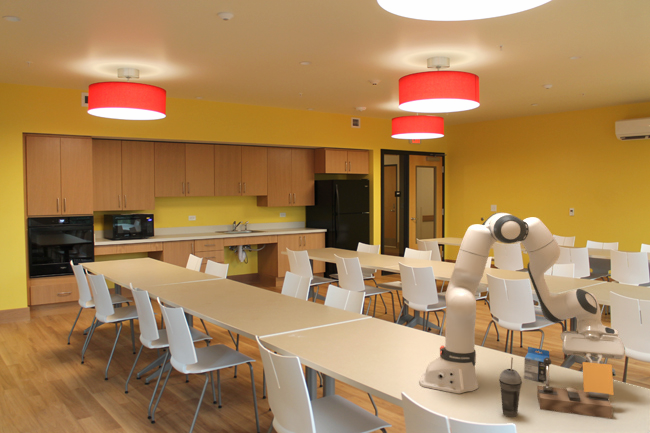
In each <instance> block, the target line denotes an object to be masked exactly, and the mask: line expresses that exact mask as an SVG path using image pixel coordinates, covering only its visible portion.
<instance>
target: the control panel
mask: <svg viewBox="0 0 650 433" xmlns="http://www.w3.org/2000/svg"><path fill="white" fill-rule="evenodd" d="M543 386H544V385H537V388H536V389H537V391H536V393H537V395H536V396H537V397H536V398H537V402H538V407H539V409H540V411H541V410H544V411H552V412H559V413H567V414H574V415H582V416H589V417H597V418H607V419H613V405H612V404H611V402H610V399H607V398H598V397H589V395H588V392H584V390H580V389H576V388H574V387H566V388H562V387H553V386H552V387H553V392H546V391H543Z"/></svg>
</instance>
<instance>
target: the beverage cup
mask: <svg viewBox="0 0 650 433" xmlns="http://www.w3.org/2000/svg"><path fill="white" fill-rule="evenodd" d="M510 358H511V359H510V368H506V369H503V370H502V371H501V373H500V375H499V379H498V381H499V387H500V398H501V409H502V415H503V416H504V417H505V418H506V417H507V418H510V419H512V418H513V419H515V418H517V417H518V411H519V402H520V393H521V392H520V391H521V388H522V384H523V382H522V377H521V375H520V374H519V372H518V371H517V370H515V369H513V361H514V357H512V356H511V357H510Z"/></svg>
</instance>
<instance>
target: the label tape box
mask: <svg viewBox="0 0 650 433" xmlns="http://www.w3.org/2000/svg"><path fill="white" fill-rule="evenodd" d="M550 357H551V356H550V350H546V349H541V348H537V347H531V346H527V352H526V354H525V356H524V360H523V361H524V364H523V365H524V366H523V378H524V379H527V380H532V381H535V382H540V383H543V384H546V365H545V364H544V359H545V358H549V359H550V360H551V358H550Z"/></svg>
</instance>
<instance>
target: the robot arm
mask: <svg viewBox="0 0 650 433" xmlns="http://www.w3.org/2000/svg"><path fill="white" fill-rule="evenodd" d="M496 242H500V243H503V244H514V243H519V242H520V244H522V245H523V247H524V249H525V251H526V253H527V254H528V258H529V259H528V260H529V262H528V263H527V266H526V267H527V273H528V276H529V278H530V282H531V284H532V288H533V289H534V292H535V294H536V297H537V299H538V302H539V306H540V310H541V313H542V314H543V317H544V318H545V319H546V320H547V321H550V322H551V323H554V324H558V323H561V322H564V321H565V320H569V319H573V318H576V320H577V321H576V331H575V330H564V331H562V332H561V333H560V339H561V341H562V346H561V348H562V349H561V350H562V353H563V354H564V355H571V356H578V357H579V356H580V357H585V360H586V362H589V363H600V364H601V361H602V359H614V360H623V359H624V358H625V356H626V350H625V346H624V343H623V341H622V338H620V337H619V331H618V330H617V329H615V328H612V327H609V326H606V325H603V322H602V310H601V307H600V303H599V300H598V298H597V296H596V295H595V294H593V293H592V292H589V291H586V290H584V289H582V288H576V289H573V290H569V291H566V292H563V293H560V294H556V295H553V294H552V293H551V292H550V290H549V288H548V284H547V282H546V279H545V276H544V275H545V273H546V272H548V270H550V269H551V268H552V267H553V266H554V265H555V264H556V263H557V261H558V260H559V258H560V255H561V248H560V246H559V244H558V242H557V240H556V239H555V237H554V235H553V234H552V232H551V230H550V229H549V228H548V227H547V226H546V225H545V223H543V221H542V220H541V219H540V218H538V217H535V216H534V217H532V216H531V217H530V216H529V217H527V218H524V219H521V218H519V217H517V216H515V215H513V214H511V213H508V212H494V213H493V214H491V215H490V216H489V217H488V218H487V219H486V220H485V221H484V222H483V223H482V224H480V223H479V224H478V223H477V224H471V225H470V226H469V227H467V230H466V231H465V234H464V236H463V238H462V241H461V244H460V247H459V250H458V254H457V257H456V260H455V263H454V266H453V270H452V273H451V276H450V279H449V282H448V284H447V287H446V291H445V295H444V296H445V298H444V299H445V332H444V333H445V335H444V336H445V342H444V343H445V345H440V346H439V356H438V357H437V358H436V359H434V360H432V361H431V362H429V363H428V365H427V366H426V369H425V373H423V374H422V375H420V377H419V385H420V386H421V387H423V388H428V389H434V390H439V391H442V392H443V391H444V392H448V393H453V394H458V395H459V394H463V393H467V392H472V391H475V390H478V389H479V382H478V379H477V373H476V362H477V354H476V348H475V343H476V342H475V339H476V338H475V336H476V335H475V334H476V333H475V332H476V330H475V328H476V322H477V321H476V316H477V300H476V299H477V298H476V293H477V290H478V288H479V286H480V283H481V281H482V278H483V276H484V273H485V270H486V266H487V263H488V259H489V255H490V252H491V248H492V246H493V245H494V244H495V243H496ZM591 357H592V358H596V360H593V359H592V358H591Z"/></svg>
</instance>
